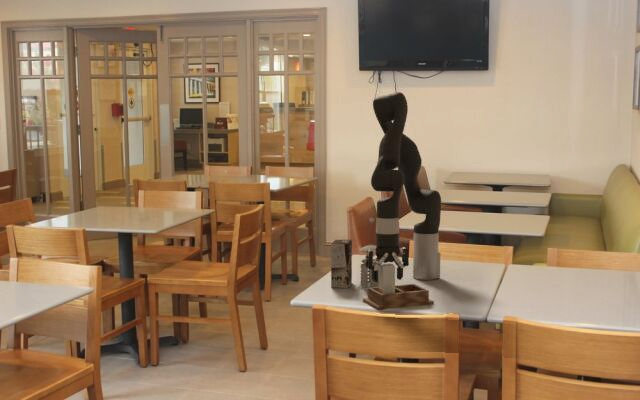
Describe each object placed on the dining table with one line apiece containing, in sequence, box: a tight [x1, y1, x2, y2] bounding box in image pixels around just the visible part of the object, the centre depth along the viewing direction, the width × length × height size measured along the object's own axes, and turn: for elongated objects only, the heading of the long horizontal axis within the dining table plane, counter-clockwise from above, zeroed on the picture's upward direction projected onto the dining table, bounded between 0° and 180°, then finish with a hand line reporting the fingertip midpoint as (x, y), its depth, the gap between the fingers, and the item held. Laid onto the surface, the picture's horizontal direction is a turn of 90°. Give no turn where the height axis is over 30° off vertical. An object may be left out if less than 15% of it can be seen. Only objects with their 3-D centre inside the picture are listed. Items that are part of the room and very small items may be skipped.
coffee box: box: [330, 239, 353, 289], centre depth 275 cm, size 9×6×16 cm
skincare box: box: [379, 262, 396, 294], centre depth 249 cm, size 6×4×12 cm
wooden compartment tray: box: [362, 283, 435, 311], centre depth 251 cm, size 20×12×4 cm, turn 110°
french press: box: [357, 217, 379, 292], centre depth 270 cm, size 10×12×25 cm
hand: (387, 280), depth 249 cm, fingers open, 8 cm apart
